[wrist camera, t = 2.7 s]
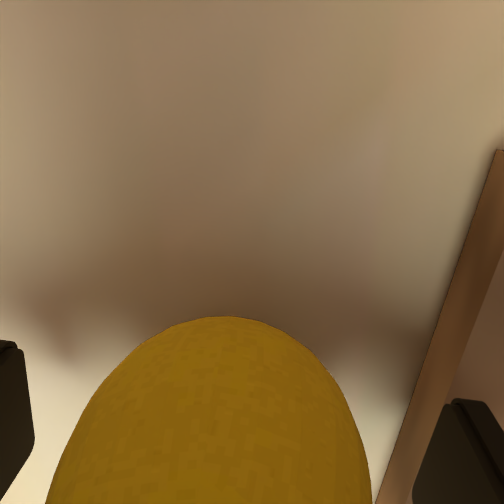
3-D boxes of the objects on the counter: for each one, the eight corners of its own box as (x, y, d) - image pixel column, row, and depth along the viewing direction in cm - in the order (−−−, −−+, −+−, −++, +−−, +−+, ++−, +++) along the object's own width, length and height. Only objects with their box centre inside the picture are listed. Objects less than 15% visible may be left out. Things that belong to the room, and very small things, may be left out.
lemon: (142, 238, 10) (-184, 658, 3) (364, 279, 10) (564, 779, 3) (129, 407, 13) (-76, 881, 5) (312, 440, 13) (357, 949, 5)
